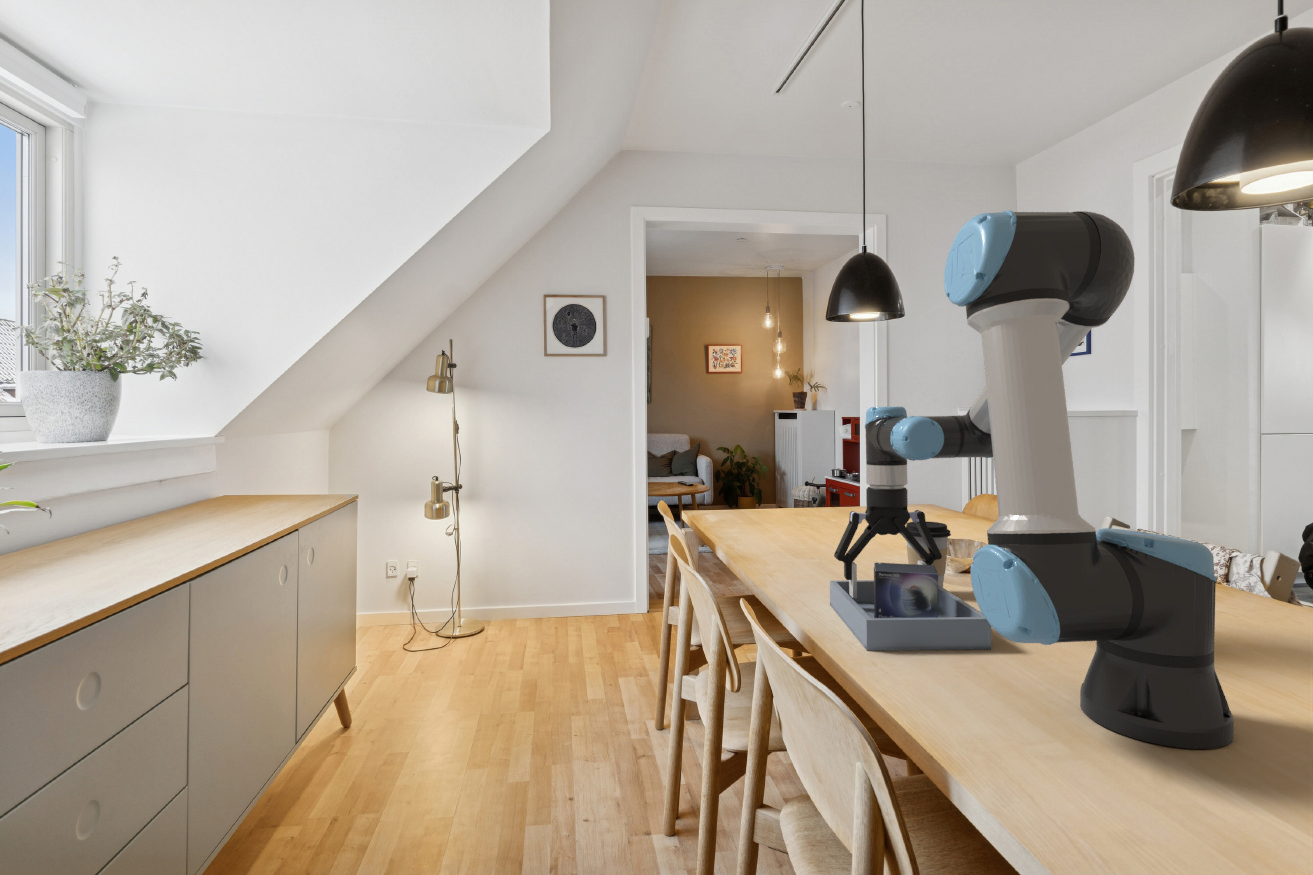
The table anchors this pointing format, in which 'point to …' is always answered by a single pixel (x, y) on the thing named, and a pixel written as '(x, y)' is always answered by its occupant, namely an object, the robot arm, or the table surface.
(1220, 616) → the table surface
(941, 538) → the coffee cup
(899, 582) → the small box
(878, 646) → the tray
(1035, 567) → the robot arm
